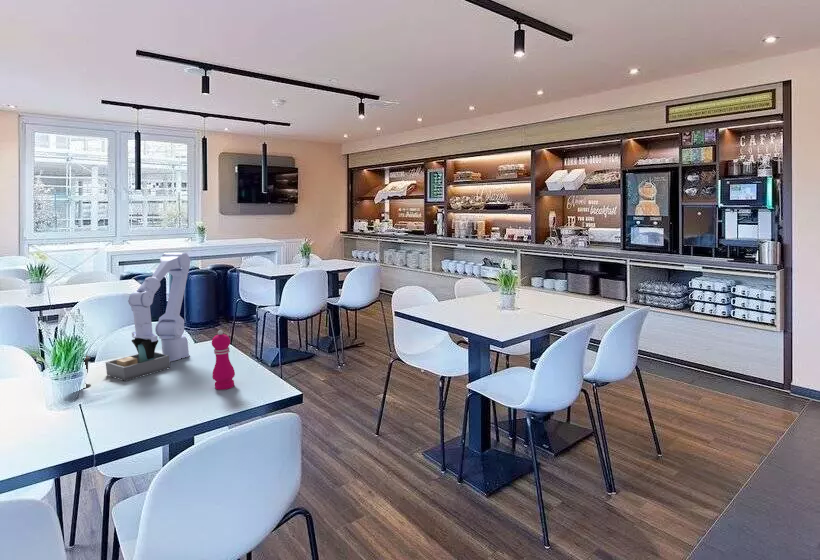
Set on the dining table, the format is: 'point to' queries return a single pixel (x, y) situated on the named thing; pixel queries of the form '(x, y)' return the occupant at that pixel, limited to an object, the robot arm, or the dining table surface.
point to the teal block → (142, 354)
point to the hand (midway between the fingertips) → (146, 357)
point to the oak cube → (127, 361)
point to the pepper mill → (222, 362)
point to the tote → (138, 367)
